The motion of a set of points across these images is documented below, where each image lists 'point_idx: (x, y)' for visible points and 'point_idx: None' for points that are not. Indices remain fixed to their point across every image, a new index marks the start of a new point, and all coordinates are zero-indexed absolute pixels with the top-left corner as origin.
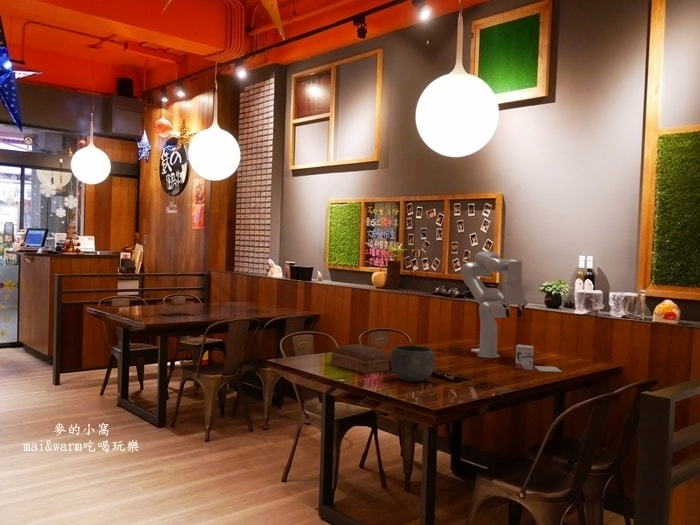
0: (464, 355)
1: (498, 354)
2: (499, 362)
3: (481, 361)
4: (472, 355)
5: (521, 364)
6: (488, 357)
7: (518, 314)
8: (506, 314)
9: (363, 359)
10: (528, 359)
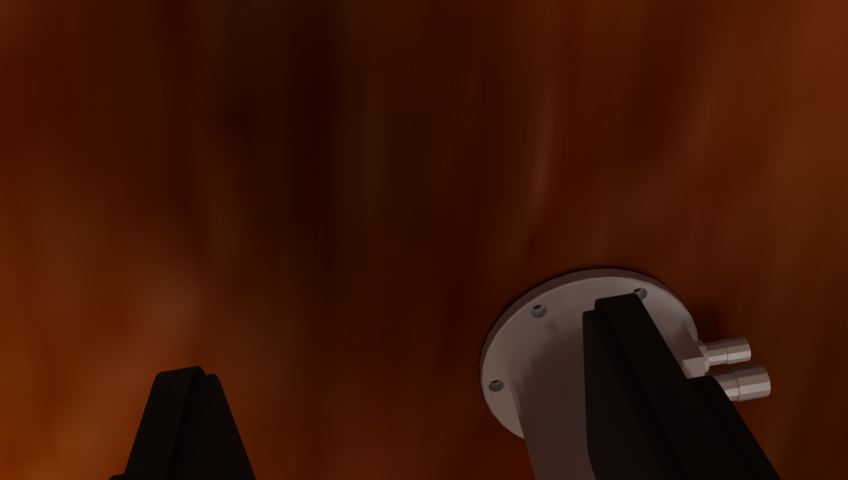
0: (805, 327)
1: (489, 393)
2: (505, 71)
3: (705, 62)
4: None
5: None
6: (598, 270)
7: (209, 473)
8: (707, 383)
9: None
10: None
